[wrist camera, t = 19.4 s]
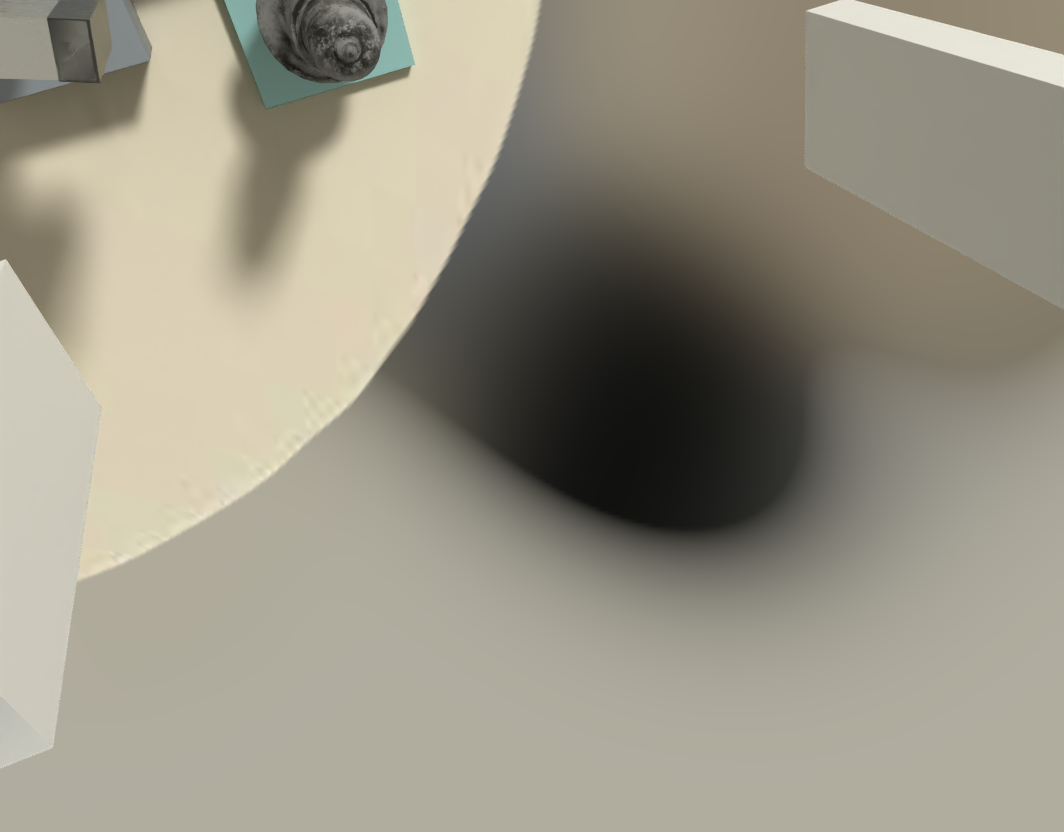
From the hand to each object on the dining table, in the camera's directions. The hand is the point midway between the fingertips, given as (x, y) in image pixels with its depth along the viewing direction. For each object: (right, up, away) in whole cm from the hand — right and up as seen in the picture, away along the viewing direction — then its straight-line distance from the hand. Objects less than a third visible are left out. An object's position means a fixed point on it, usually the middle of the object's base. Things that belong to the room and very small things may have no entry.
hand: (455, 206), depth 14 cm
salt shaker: (-9, +17, +28) cm, 34 cm away
